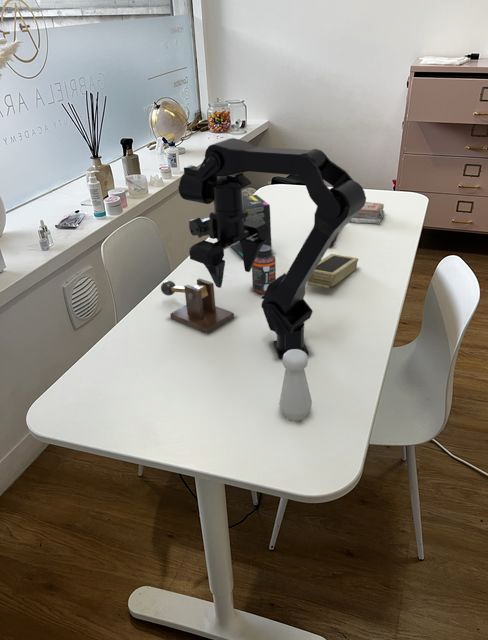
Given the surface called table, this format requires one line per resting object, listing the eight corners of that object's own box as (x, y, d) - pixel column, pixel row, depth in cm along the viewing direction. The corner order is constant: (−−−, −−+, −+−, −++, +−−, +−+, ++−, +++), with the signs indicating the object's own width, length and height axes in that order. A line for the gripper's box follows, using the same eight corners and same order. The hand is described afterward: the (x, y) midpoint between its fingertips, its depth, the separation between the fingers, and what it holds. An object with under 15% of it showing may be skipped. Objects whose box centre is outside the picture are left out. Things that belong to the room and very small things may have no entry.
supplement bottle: (273, 295, 140) (272, 253, 134) (250, 294, 141) (248, 252, 135) (278, 284, 145) (277, 243, 139) (255, 283, 146) (253, 242, 140)
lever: (160, 297, 136) (156, 283, 134) (171, 291, 138) (167, 277, 137) (200, 302, 127) (196, 287, 125) (211, 296, 129) (207, 281, 128)
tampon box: (272, 254, 162) (271, 204, 154) (242, 259, 159) (239, 209, 151) (258, 241, 171) (256, 193, 163) (229, 246, 168) (226, 198, 160)
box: (302, 288, 140) (304, 269, 138) (331, 267, 159) (333, 250, 156) (334, 294, 137) (336, 275, 135) (360, 272, 156) (362, 255, 153)
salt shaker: (310, 403, 104) (311, 343, 97) (313, 423, 99) (314, 362, 92) (278, 404, 104) (277, 345, 97) (280, 424, 99) (279, 363, 92)
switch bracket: (170, 318, 132) (166, 284, 127) (197, 303, 138) (194, 271, 133) (207, 334, 126) (203, 299, 121) (234, 318, 131) (231, 284, 127)
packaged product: (386, 200, 184) (381, 210, 176) (384, 214, 186) (379, 225, 179) (332, 196, 189) (324, 205, 181) (331, 210, 192) (324, 220, 184)
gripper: (229, 188, 121) (234, 255, 130) (165, 213, 109) (175, 285, 118) (270, 197, 115) (272, 267, 123) (207, 224, 103) (213, 300, 112)
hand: (233, 279), depth 119 cm, fingers open, 9 cm apart
